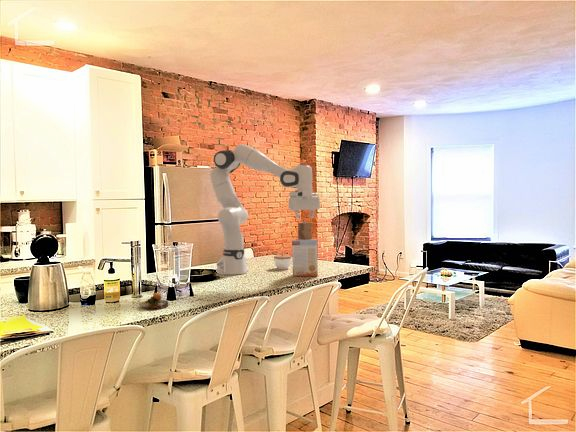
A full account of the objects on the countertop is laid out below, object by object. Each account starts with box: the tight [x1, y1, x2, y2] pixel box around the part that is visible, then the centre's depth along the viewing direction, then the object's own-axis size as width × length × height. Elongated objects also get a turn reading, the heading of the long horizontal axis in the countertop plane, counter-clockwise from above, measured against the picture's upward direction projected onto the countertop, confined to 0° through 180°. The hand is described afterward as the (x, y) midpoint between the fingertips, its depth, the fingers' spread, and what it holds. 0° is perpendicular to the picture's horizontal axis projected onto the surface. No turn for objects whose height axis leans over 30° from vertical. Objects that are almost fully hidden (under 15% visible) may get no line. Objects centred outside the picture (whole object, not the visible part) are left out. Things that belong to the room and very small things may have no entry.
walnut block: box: [297, 221, 313, 239], centre depth 264 cm, size 6×5×9 cm
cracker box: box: [291, 238, 319, 277], centre depth 265 cm, size 14×6×21 cm, turn 84°
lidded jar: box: [273, 252, 292, 270], centre depth 290 cm, size 11×11×9 cm
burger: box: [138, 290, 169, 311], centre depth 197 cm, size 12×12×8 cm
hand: (304, 217), depth 264 cm, fingers open, 8 cm apart
